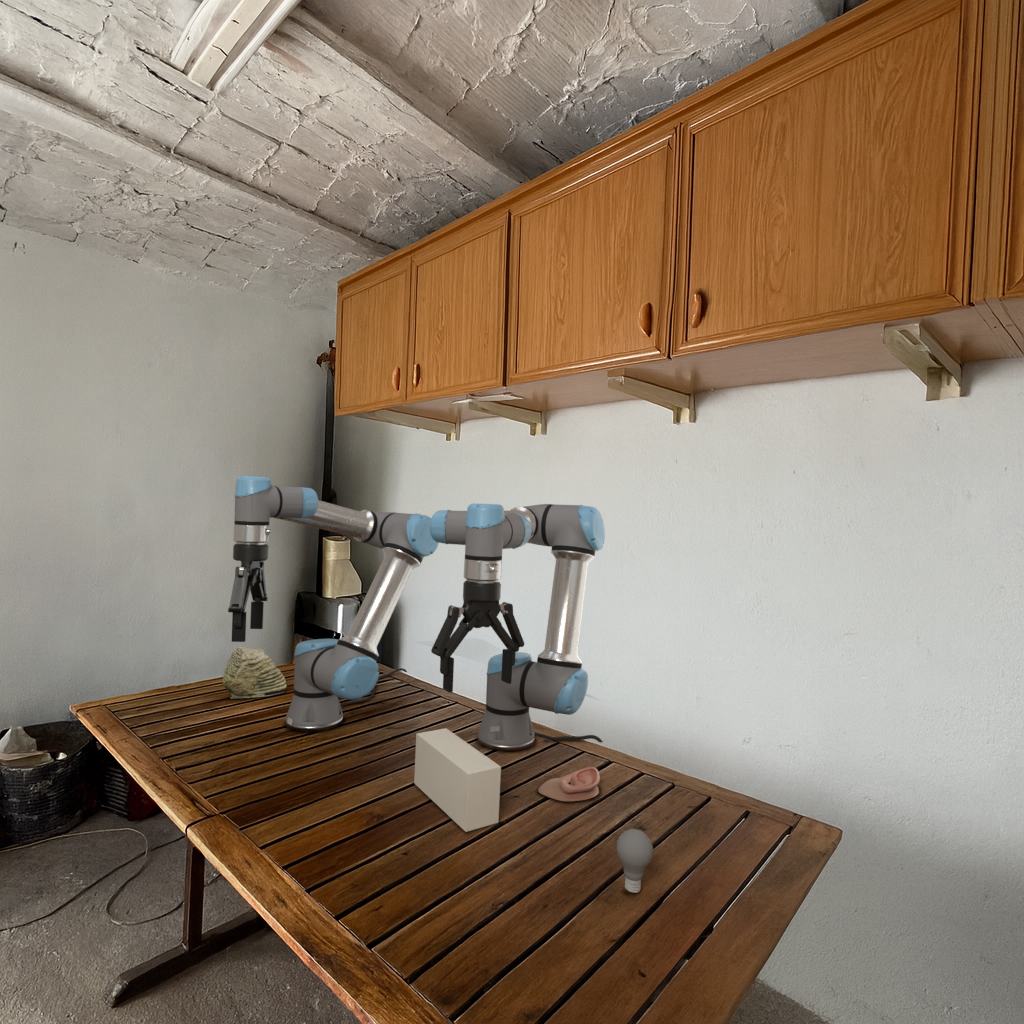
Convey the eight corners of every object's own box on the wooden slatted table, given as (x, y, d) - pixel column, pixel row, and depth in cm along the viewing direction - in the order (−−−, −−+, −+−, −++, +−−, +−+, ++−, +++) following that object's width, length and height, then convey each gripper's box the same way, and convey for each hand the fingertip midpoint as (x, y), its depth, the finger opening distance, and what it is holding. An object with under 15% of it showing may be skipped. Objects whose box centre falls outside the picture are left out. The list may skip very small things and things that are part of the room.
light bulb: (610, 879, 108) (613, 822, 108) (644, 879, 109) (647, 822, 109) (619, 902, 102) (622, 840, 102) (655, 901, 103) (658, 840, 103)
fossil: (218, 695, 195) (220, 647, 195) (278, 685, 208) (279, 640, 207) (228, 703, 189) (230, 653, 188) (289, 692, 201) (290, 645, 201)
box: (414, 783, 142) (416, 733, 142) (443, 776, 146) (446, 728, 146) (465, 832, 122) (468, 774, 122) (498, 822, 126) (501, 766, 126)
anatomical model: (536, 779, 137) (544, 758, 148) (535, 797, 137) (543, 775, 148) (598, 787, 134) (601, 766, 146) (597, 806, 134) (600, 783, 146)
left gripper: (251, 548, 134) (248, 647, 134) (281, 540, 159) (278, 624, 159) (214, 546, 133) (211, 647, 134) (250, 539, 158) (247, 623, 158)
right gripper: (434, 585, 117) (429, 699, 117) (543, 580, 130) (539, 683, 131) (417, 580, 123) (412, 688, 123) (523, 576, 137) (518, 674, 137)
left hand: (247, 635), depth 146 cm, fingers open, 13 cm apart
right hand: (477, 686), depth 127 cm, fingers open, 13 cm apart
